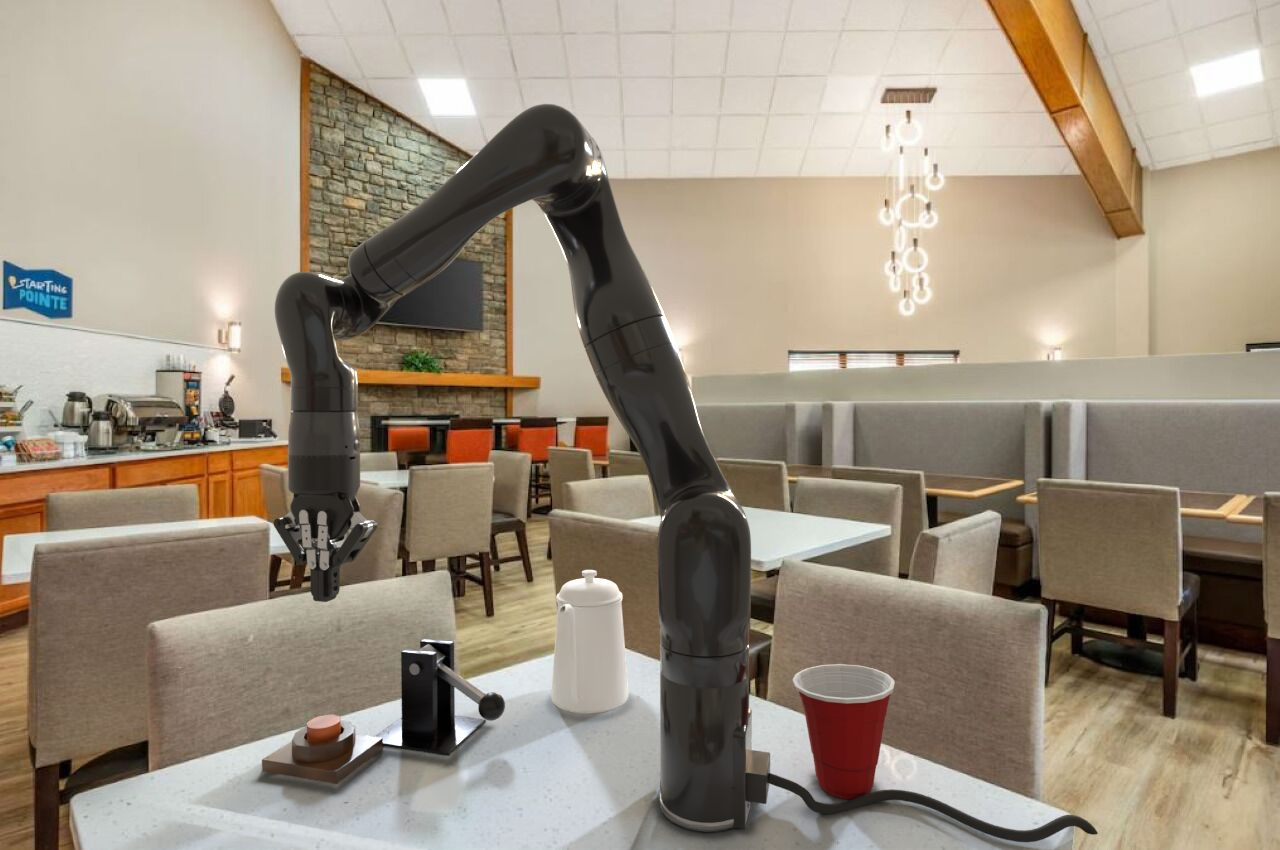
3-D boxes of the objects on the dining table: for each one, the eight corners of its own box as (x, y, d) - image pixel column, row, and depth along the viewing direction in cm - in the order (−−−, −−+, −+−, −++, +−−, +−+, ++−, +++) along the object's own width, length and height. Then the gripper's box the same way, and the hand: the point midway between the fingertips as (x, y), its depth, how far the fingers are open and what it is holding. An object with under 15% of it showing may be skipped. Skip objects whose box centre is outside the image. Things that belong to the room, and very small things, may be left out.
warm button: (347, 731, 79) (347, 716, 79) (325, 745, 76) (325, 730, 76) (322, 727, 80) (322, 712, 80) (299, 741, 77) (299, 726, 77)
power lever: (502, 718, 84) (513, 697, 83) (490, 730, 81) (501, 708, 80) (421, 660, 87) (432, 639, 86) (406, 669, 84) (417, 648, 83)
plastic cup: (813, 750, 82) (814, 652, 82) (906, 778, 76) (906, 672, 75) (776, 790, 73) (776, 681, 73) (877, 826, 67) (878, 706, 67)
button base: (383, 755, 81) (383, 722, 81) (336, 792, 73) (336, 755, 73) (313, 744, 84) (313, 713, 83) (261, 778, 76) (261, 743, 76)
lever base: (485, 728, 88) (485, 638, 87) (448, 763, 79) (447, 663, 79) (412, 718, 91) (411, 631, 90) (368, 750, 82) (367, 654, 82)
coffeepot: (519, 742, 84) (518, 592, 83) (577, 667, 108) (577, 551, 108) (604, 751, 82) (603, 597, 81) (644, 672, 106) (643, 554, 106)
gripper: (251, 451, 76) (252, 604, 76) (351, 454, 72) (351, 614, 73) (301, 447, 83) (302, 587, 83) (394, 450, 80) (394, 596, 80)
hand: (325, 599), depth 78 cm, fingers closed
